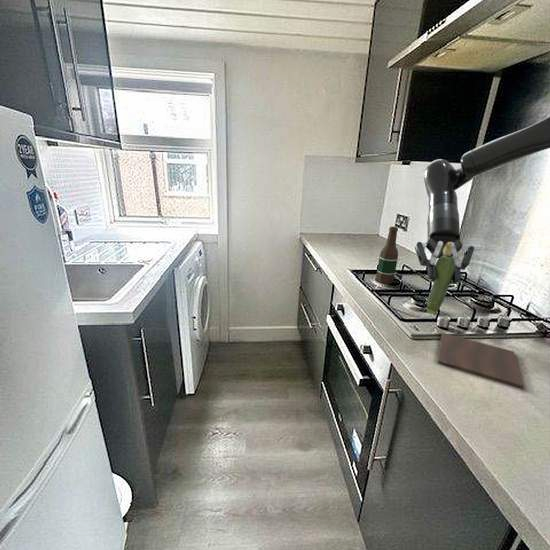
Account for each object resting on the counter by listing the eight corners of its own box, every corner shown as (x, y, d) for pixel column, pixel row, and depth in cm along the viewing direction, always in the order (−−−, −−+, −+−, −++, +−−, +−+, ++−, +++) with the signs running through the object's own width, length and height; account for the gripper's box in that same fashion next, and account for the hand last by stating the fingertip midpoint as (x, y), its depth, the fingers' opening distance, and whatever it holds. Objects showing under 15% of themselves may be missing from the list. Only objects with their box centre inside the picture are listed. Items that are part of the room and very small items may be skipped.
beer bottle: (371, 280, 133) (380, 226, 124) (380, 276, 138) (389, 224, 129) (388, 285, 128) (398, 230, 119) (397, 281, 133) (407, 227, 124)
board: (513, 353, 84) (513, 351, 84) (522, 388, 71) (523, 385, 71) (441, 334, 92) (441, 332, 92) (438, 362, 80) (438, 360, 79)
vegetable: (429, 308, 83) (446, 237, 76) (445, 314, 80) (464, 241, 73) (421, 312, 81) (438, 240, 73) (438, 319, 78) (457, 244, 70)
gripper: (418, 214, 80) (417, 272, 73) (478, 217, 76) (483, 278, 70) (411, 229, 87) (409, 284, 80) (467, 233, 83) (470, 290, 77)
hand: (444, 281), depth 75 cm, fingers closed on vegetable, 4 cm apart
